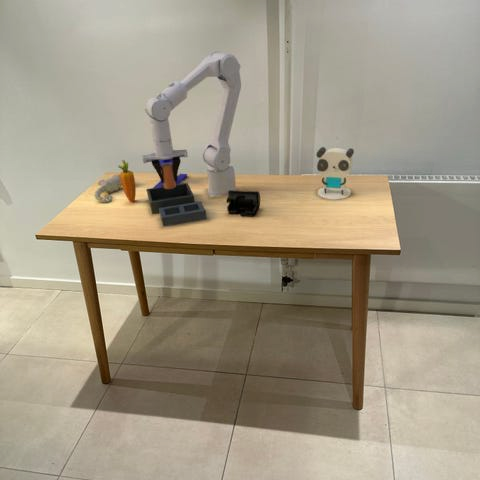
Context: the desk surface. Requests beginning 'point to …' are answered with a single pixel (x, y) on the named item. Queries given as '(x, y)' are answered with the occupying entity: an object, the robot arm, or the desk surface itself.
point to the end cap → (243, 202)
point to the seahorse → (108, 187)
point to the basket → (169, 196)
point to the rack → (182, 213)
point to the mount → (179, 177)
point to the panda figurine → (334, 172)
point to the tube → (168, 175)
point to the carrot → (127, 182)
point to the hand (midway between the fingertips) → (168, 181)
